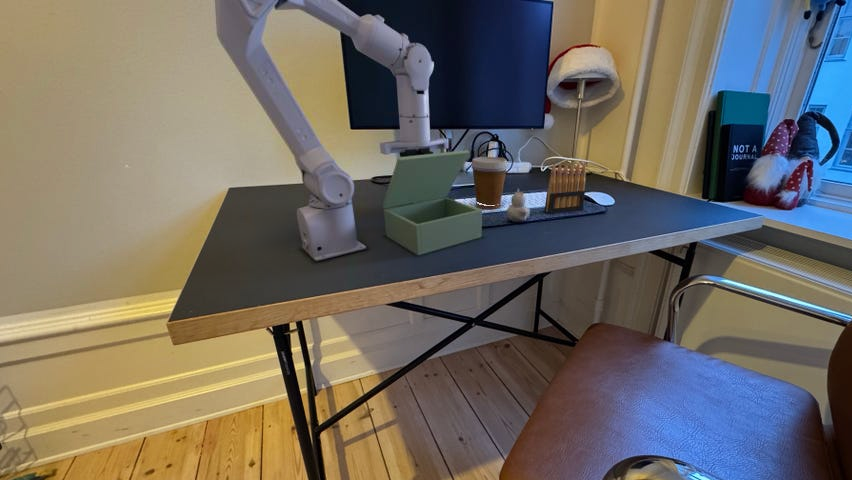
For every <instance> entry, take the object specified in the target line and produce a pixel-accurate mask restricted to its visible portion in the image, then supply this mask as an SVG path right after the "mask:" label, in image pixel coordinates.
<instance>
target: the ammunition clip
mask: <svg viewBox="0 0 852 480" xmlns="http://www.w3.org/2000/svg"><path fill="white" fill-rule="evenodd" d="M574 167H575V168H574ZM586 174H587V165H586V162H584V163H583V164H582V165H580V162H577V164H576V166H574V163H571V164H570V166H568V163H565V165H564V167H562V164H561V163H560V164H559V165H558V167H557V169H556V165H555V164H552V167H551V172H550V177H549V180H548V189H547V192H546V196H545V204H544V212H545V213H546V214H550V215H551V214H557V213H558V214H559V213H567V212H576V211H578V212H579V211H583V210H584V204H585V203H584V202H585V195H586V190H585V186H586Z"/></svg>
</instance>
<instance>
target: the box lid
mask: <svg viewBox="0 0 852 480" xmlns="http://www.w3.org/2000/svg"><path fill="white" fill-rule="evenodd" d="M469 154H470V151H469V150H468V149H465V150H456V151H446V152H436V153H433V154H426V155H416V156H407V157H400V156H398V157H397V160H396V163H395V165H394V169H393V172H392V174H391V178H390V181H389V185H388V188H387V191H386V194H385V197H384V200H383V204H382V208H383V209H388V208H393V207H399V206H404V205H409V204H414V203H419V202H424V201H430V200H435V199H440V198H445V197H447V198H448V195H449V193H450V192H451V190H452V188H453V186H454V184H455V182H456V180H457V178H458V176H459V174H460V172H461V170H462V168H463V166H464V164H465V162H466V160H467V158H468V156H469Z"/></svg>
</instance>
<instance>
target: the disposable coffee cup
mask: <svg viewBox="0 0 852 480" xmlns="http://www.w3.org/2000/svg"><path fill="white" fill-rule="evenodd" d="M470 166H471V169H472V175H473V185H474V186H473V187H474V194H475V195H474V196H475V203H476V201H477V202H479V203H482V204H486V205H495V206H484V205H479V204H477V203H476V204H475V205H476V207H477V208H478V209H481V210H482V209H483V210H495V209H499V208H500V207H501V202H502V196H503V190H504V185H505V179H506V173H507V170H508V167H509V164H508V161H507V159H506V158H504V157H498V156H497V157H496V156H479V157H474V158H472V161H471V163H470ZM497 204H499V205H497Z"/></svg>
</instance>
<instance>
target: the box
mask: <svg viewBox="0 0 852 480" xmlns="http://www.w3.org/2000/svg"><path fill="white" fill-rule="evenodd" d="M383 218H384V227H385V236H386V237H387V238H388V239H390V240H392V241H393V242H395V243H397V244H399V245H400V246H401V247H403V248H405V249H406V250H408V251H410V252H411V253H413V254H415V255H417V256H421V255H424V254H429V253H432V252H435V251H438V250H441V249H442V250H443V249H445V248H449V247H452V246H456V245H459V244H463V243H466V242H469V241H473V240H476V239H480V238H482V236H483V235H482V233H483V232H482V231H483V210H482V209H480V208H478V207H477V208H476V207H474V206H471V205H468V204H465V203H463V202H460V201H457V200H455V199H452V198H449V197H448V196H447V197H441V198H436V199H431V200H426V201H421V202H415V203H410V204H405V205H400V206H394V207H389V208H383Z"/></svg>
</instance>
